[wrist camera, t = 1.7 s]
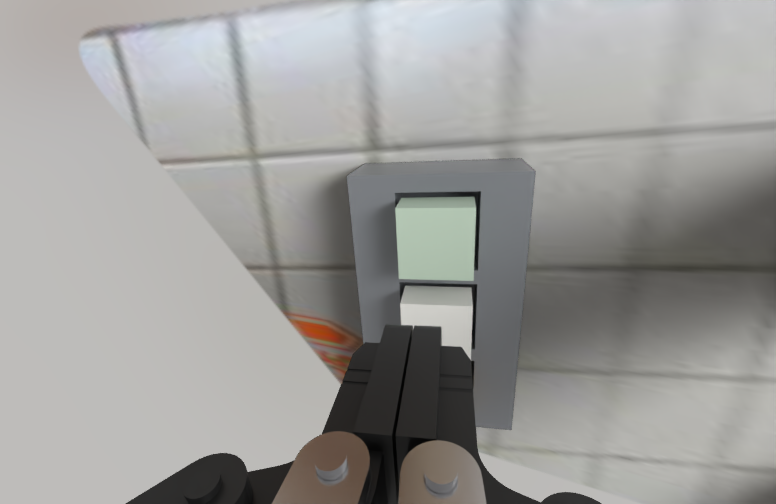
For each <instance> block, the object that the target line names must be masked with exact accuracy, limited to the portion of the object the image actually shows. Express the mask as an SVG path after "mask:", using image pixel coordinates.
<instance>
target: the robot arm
mask: <svg viewBox="0 0 776 504" xmlns="http://www.w3.org/2000/svg"><path fill="white" fill-rule="evenodd" d="M126 504H601V503H600V502H598V501H596V500H594V499H592V498H590V497H587V496H584V495H581V494H576V493H570V492H562V493H556V494H553V495H550V496H549V497H547V498H545V499H544V500H543V501H542V502H541V503H540V502H538V501H536V500H533V499H531V498H529V497H526V496H524V495H522V494H519V493H517V492H515V491H513V490H511V489H509V488H507V487H505V486H504V485H502V484H501V483H500V482H498V481H497V480H496V479H495V478H494V477H493V476H492V475H491V474H490V473H489V472H488V471H487V469H486V468H485V466H484V465H483V463H482V461H481V459H480V457H479V454H478V449H477V438H476V424H475V411H474V397H473V383H472V370H471V360H470V358H469V357H468V356H467V354H466V353H465V351H464V350H463V348H462V347H455V346H442V328H441V326H416V325H415V326H414V329H413V326H412V325H388V324H386V325H385V327H384V330H383V334H382V337H381V340H380V343H370V342H365V343H364V344H363V345H362V346H361V347H360V348H359V349H358V350H357V351H356V352H355V353H354V354H353V356H352V358H351V361H350V364H349V366H348V370H347V372H346V374H345V376H344V379H343V384H341V387H340V389H339V392H338V394H337V397H336V399H335V402H334V404H333V407H332V410H331V412H330V415H329V418H328V420H327V422H326V425H325V428H324V430H323V432H322V435H319V436H317V437H316V438H314V439H312V440H311V441H309V442H308V443H307V444H306V445H305V446H304V447H303V448H302V449H301V450H300V452H299V453H298V455H297V457H296V458H295V460H294V461H292V462H290V463H287V464H283V465H280V466H275V467H271V468H266V469H261V470H256V471H251V472H247V470H246V466H245V464H244V462H243V461H242V460H241V459H240V458H238V457H237V456H235V455H232V454H227V453H219V454H213V455H209V456H206V457H203V458H201V459H199V460H197V461H195V462H194V463H191V464H190V465H188V466H187V467H185V468H183V469H182V470H180V471H179V472H177V473H175V474H173V475H172V476H170V477H168V478H167V479H165V480H164V481H162V482H160V483H159V484H157V485H155V486H154V487H152V488H150V489H149V490H147V491H146V492H144V493H142V494H141V495H139V496H137V497H136V498H134V499H132V500H131V501H129V502H128V503H126Z"/></svg>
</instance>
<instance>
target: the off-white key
mask: <svg viewBox="0 0 776 504" xmlns="http://www.w3.org/2000/svg"><path fill="white" fill-rule="evenodd" d="M400 310H401V325H412V326H413V329H414V326H415V325H416V326H441V328H442V346H455V347H462V348H463V350H464V351H465V353H466V354H467V356H468V357H469V358H470V360H471V343H472V314H473V303H472V289H471V287H439V286H405V288H404V292H403V295H402V299H401V303H400Z"/></svg>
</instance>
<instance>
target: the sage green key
mask: <svg viewBox="0 0 776 504" xmlns="http://www.w3.org/2000/svg"><path fill="white" fill-rule="evenodd" d="M395 213H396V233H397V252H398V271H399V279H418V280H456V281H474V255H475V225H476V204H475V198H474V197H414V198H401V199H400V201H399V203H398V204H397V206H396V208H395Z"/></svg>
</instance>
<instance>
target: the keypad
mask: <svg viewBox="0 0 776 504" xmlns="http://www.w3.org/2000/svg"><path fill="white" fill-rule="evenodd" d="M535 173H536V171H535V170H534V169H533V168H532V167H531V166H530V165H528V164H527V163H526V162H525V161H524V160H523V159H522V158H518V159H487V160H456V161H425V162H394V163H365V164H363V165H362V166H361V167H359V168H358V169H356V170H355V171H353V172H352V173H350V174H349V175H347V184H348V194H349V204H350V214H351V224H352V234H353V244H354V254H355V265H356V275H357V285H358V295H359V305H360V315H361V325H362V335H363V344H364V343H365V342H370V343H380V340H381V337H382V334H383V330H384V327H385V325H386V324H388V325H401V310H400V303H401V299H402V295H403V292H404V288H405V286H439V287H471V289H472V303H473V314H472V343H471V370H472V383H473V397H474V411H475V424H476V427H484V428H494V429H505V430H512V419H513V408H514V398H515V387H516V376H517V366H518V355H519V344H520V334H521V323H522V312H523V301H524V291H525V280H526V269H527V259H528V248H529V237H530V226H531V216H532V205H533V194H534V184H535ZM414 197H474V198H475V204H476V225H475V255H474V281H456V280H418V279H399V271H398V252H397V233H396V213H395V208H396V206H397V204H398V203H399V201H400V199H401V198H414Z"/></svg>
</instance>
